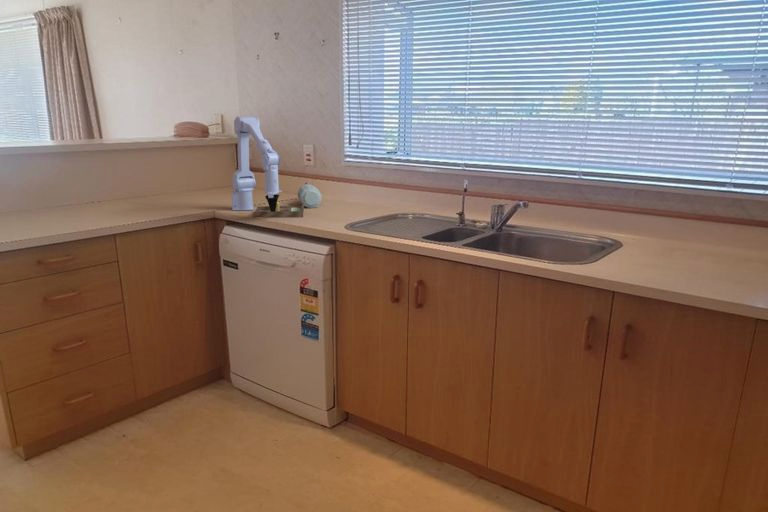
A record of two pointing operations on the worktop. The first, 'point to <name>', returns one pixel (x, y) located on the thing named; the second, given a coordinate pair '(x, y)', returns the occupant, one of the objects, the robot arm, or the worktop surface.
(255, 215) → the tray
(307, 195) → the device
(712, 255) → the worktop surface
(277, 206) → the block
